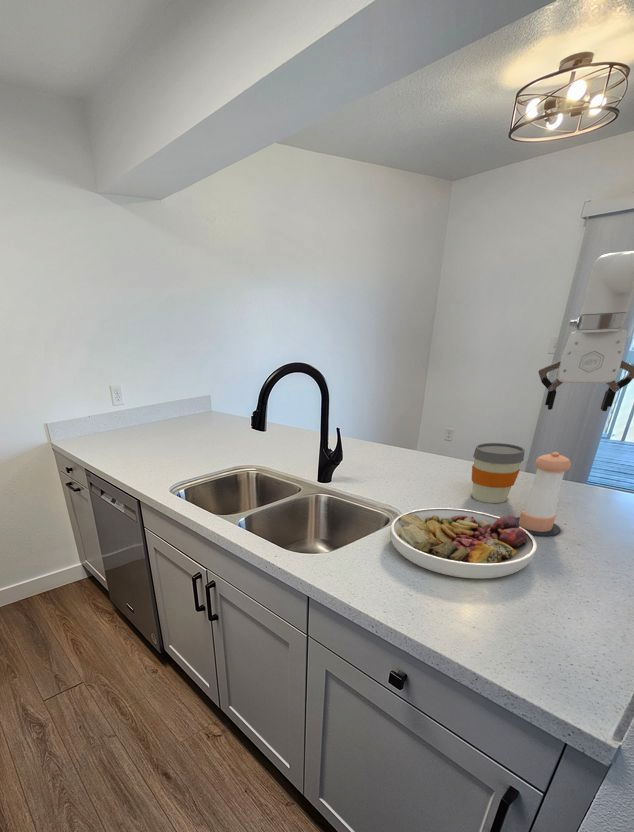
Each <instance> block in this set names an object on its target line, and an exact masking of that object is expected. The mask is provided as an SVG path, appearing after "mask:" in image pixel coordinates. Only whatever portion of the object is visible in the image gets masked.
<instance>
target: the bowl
mask: <svg viewBox="0 0 634 832" xmlns="http://www.w3.org/2000/svg"><path fill="white" fill-rule="evenodd" d="M516 518H517V517H516V516H514V515H509V514H508V515H504V516H496V515H493V514H489V513H486V512H481V511H476V510H470V509H464V508H451V507H430V508H429V507H427V508H420V509H415V510H414V509H413V510H411V511H407V512H404V513H402V514H400V515H398V516H396V517H395V518H394V520H393V521H392V522H391V524H390V529H389V532H390V533H389V534H390V541H391V542H392V545H393V546H394V548H395V549H396V550H397V552H399V553H400V555H401V556H403V557H404V558H405V559H407V560H408V561H409V562H411V563H413V564H415V565H416V566H419V567H421V568H424V569H426V570H429V571H431V572H435V573H437V574H442V575H445V576H450V577H457V578H462V579H463V578H465V579H479V580H480V579H495V578H501V577H505V576H509V575H512V574H514V573H517V572H519V571H522V569H524V568H525V567H526V566H528V565H529V564H530V563H531V562H532V560H534V557H535V555H536V553H537V548H538V543H537V540H536V539H535V538H534V535H531V534H530V533H529V532H528V531H526V530H525V529H523V528H522V527H520V526H519V522H518V520H517V519H516Z"/></svg>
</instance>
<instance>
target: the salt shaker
mask: <svg viewBox="0 0 634 832" xmlns="http://www.w3.org/2000/svg"><path fill="white" fill-rule="evenodd" d="M571 463H572V462H571V460H570V458H569V457H566V456H564V455H561V454H560V453H559V452H557V451H554V452H551V453H548V454H543V455H540V456H539V457H537V458H536V460H535V462H534V466H535V468H536V472H535V476H534V480H533V482H532V486H531V488H530V489H529V492H528V494H527V496H526V499H525V504H524V506H523V509H522V510H521V511H520V516H519V517H520V519H519V525H520V526H521V527H523V528H525V529H528V530H532V531H539V532H546V531H550V530H551V529H552V527H553V524H555V520H556V517H557V516H556V511H557V509H558V505H559V498H560V490H561V486H562V483H563V479H564V475H565V472H568V470H569V469H570V468H571V466H572V464H571Z"/></svg>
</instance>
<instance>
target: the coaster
mask: <svg viewBox="0 0 634 832" xmlns="http://www.w3.org/2000/svg"><path fill="white" fill-rule="evenodd" d="M516 519H517V520H518V522H519V519H520V516H517V517H516ZM519 526H520V525H519ZM520 527H521V526H520ZM522 528H523V527H522ZM523 529H525V528H523ZM525 530H526V531H528V532H529V533H530V534H531V535H532V536H533V537H534V536H535V537H553V536H557V535H559V534H560V533H561V527H560V526H559V525H558V524H556V523H554V524H553V527H552V529H551V530H550V531H546V532H539V531H532V530H528V529H525Z"/></svg>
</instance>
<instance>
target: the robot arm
mask: <svg viewBox="0 0 634 832" xmlns="http://www.w3.org/2000/svg"><path fill="white" fill-rule="evenodd" d="M633 295H634V250H627V251H617V252H610V253H606V254H602V255H600V256H599V257H598V258H597V259H596V260H595V261H594V262H593V265H592V267H591V271H590V276H589V280H588V283H587V286H586V291H585V295H584V298H583V303H582V306H581V310H580V315H579V316H577V317H575V318H570V320H569V323H568V327H574V328H575V331H572V332H571V333H570V335H569V337H568V339H567V342H566V345H565V347H564V350H563V352H562V355H561V357H560V360H559V361H556V362H553V363H551V364H548V365H545V366H544V367H542V368H540V369H538V370H537V372H538V377H539V378H540V382H541V384H542V385H543V386H544V387H545V388H546V389H547V395H546V397H545V402H544V405H545V406H547V410H553V408H554V403H555V400H556V396H557V388H558V387H560V386H561V385H562V384H564V383H565V384H606V385H607V387H608V388H607V390H605V392H604V395H603V399H602V402H601V405H600V410H601V411H602V412H607V411H608V408H611V407H612V406H613V403H614V400H615V397H616V394H617V392H619V391H620V390H621V389H622V388H624V387H625V386H627V385H629V384H630V383H631V382H632V380H634V365H633V364H631V363H629V362H626V361H624V360H623V356H624V353H625V347H626V342H627V336H628V334H627V333H628V330H627V329H623V327H624V325H625V321H626V318H627V315H628V312H629V309H630V305H631V302H632V298H633ZM620 369H622V370H624V371H626V372H627V374H626V375H625V376H624V377H622V378H621V379H620V380H618V381H616V379H617V377H618V375H619V372H620ZM555 370H557V372H556V379H554V380H553V381H551V380H550V379H549V378H548V373H550V372H552V371H555Z"/></svg>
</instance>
